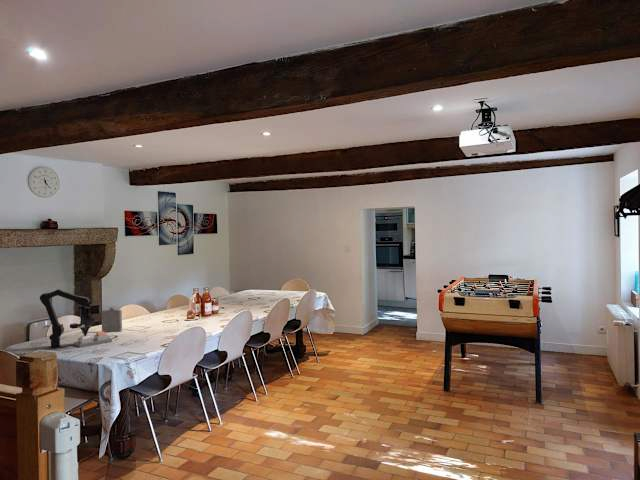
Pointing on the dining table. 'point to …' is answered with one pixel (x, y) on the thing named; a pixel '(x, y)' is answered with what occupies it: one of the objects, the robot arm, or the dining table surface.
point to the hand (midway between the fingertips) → (85, 336)
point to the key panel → (92, 341)
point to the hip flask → (111, 320)
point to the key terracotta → (100, 333)
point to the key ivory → (85, 337)
